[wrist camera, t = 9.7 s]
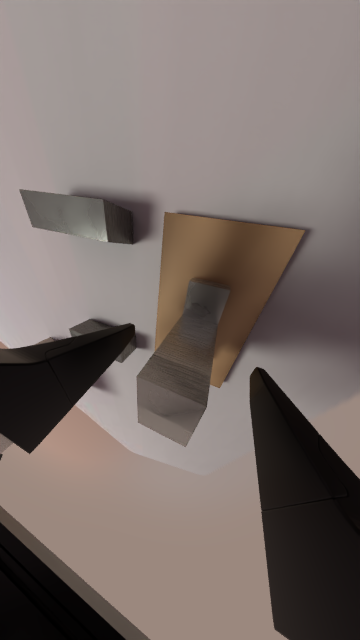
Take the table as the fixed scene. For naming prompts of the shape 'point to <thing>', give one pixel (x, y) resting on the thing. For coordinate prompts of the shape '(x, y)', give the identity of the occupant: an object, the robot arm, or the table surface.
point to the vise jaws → (82, 231)
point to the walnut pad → (221, 275)
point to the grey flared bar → (182, 366)
